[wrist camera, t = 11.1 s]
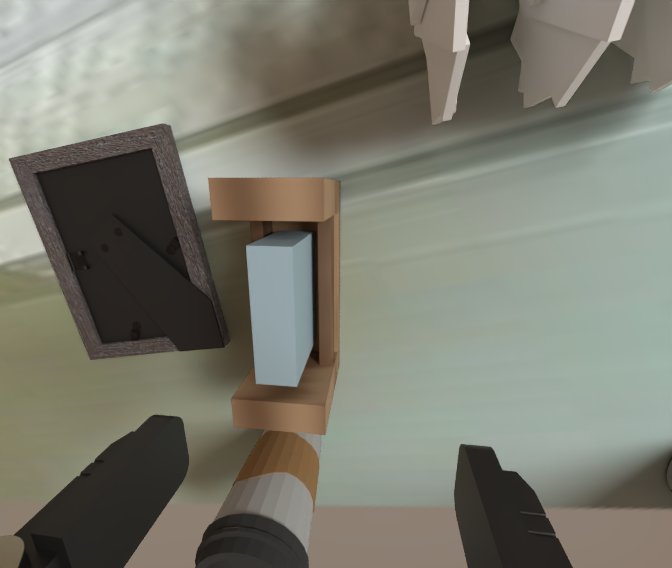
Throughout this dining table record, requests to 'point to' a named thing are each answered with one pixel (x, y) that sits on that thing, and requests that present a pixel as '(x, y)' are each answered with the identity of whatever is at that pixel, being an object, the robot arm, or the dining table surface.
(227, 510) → the coffee cup
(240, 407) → the track
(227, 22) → the dining table surface
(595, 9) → the spiral staircase
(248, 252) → the door panel
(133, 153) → the picture frame
